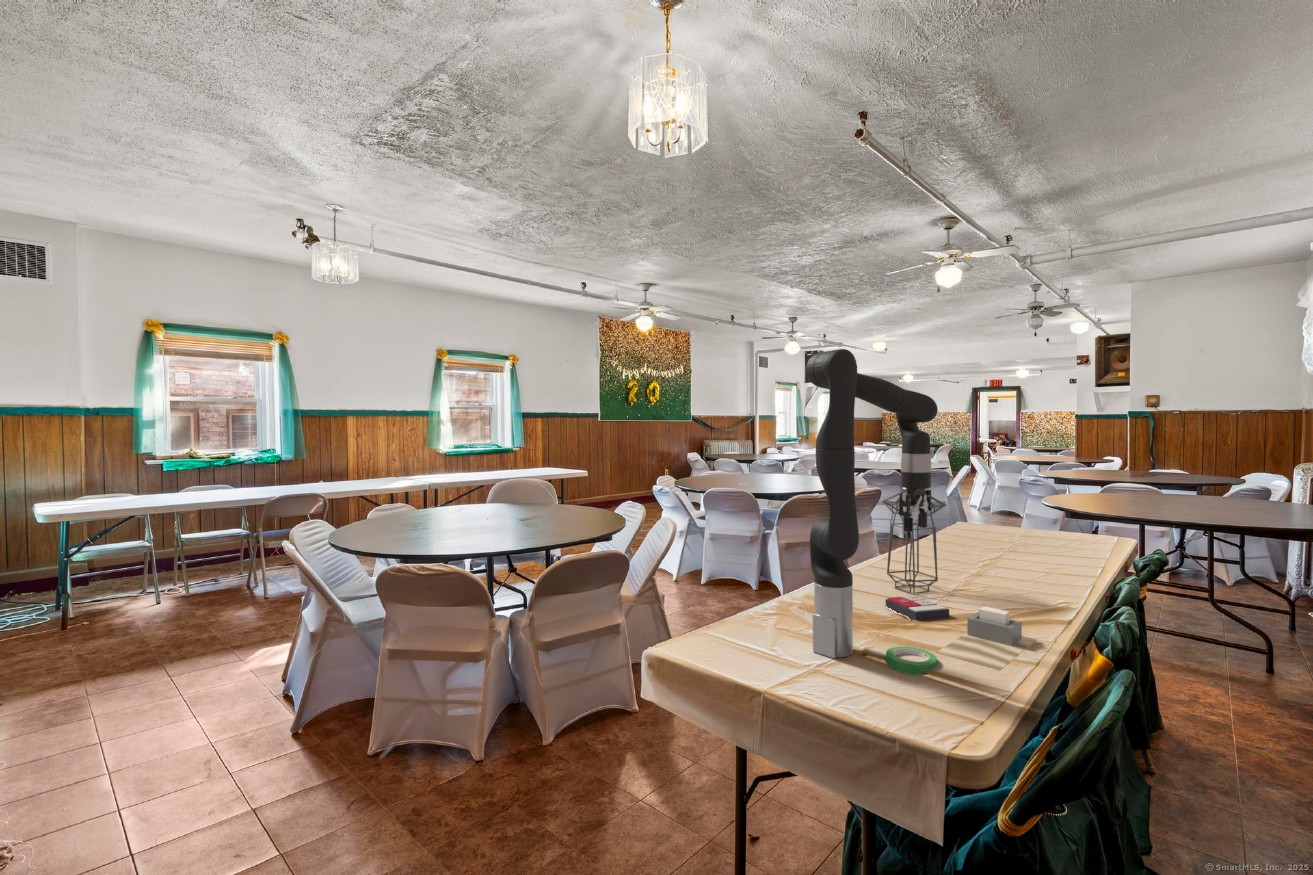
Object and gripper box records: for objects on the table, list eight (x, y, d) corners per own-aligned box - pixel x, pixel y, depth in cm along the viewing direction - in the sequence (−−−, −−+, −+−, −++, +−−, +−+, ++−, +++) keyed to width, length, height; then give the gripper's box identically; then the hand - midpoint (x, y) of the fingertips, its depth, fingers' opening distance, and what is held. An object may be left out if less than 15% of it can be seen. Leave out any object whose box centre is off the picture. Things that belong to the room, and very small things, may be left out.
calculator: (916, 594, 181) (949, 606, 166) (916, 608, 181) (950, 622, 166) (884, 596, 179) (915, 609, 164) (885, 610, 179) (916, 625, 164)
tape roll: (894, 652, 145) (894, 642, 145) (942, 664, 138) (942, 653, 138) (879, 667, 137) (879, 656, 136) (929, 680, 130) (929, 669, 129)
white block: (1005, 637, 148) (1005, 614, 148) (978, 631, 152) (978, 608, 152) (1009, 634, 150) (1009, 611, 150) (982, 628, 155) (982, 606, 154)
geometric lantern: (877, 585, 202) (878, 485, 201) (914, 582, 206) (915, 484, 206) (910, 598, 187) (911, 490, 186) (949, 594, 191) (950, 488, 191)
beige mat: (999, 674, 131) (999, 670, 131) (936, 656, 142) (936, 652, 142) (1036, 643, 149) (1036, 639, 149) (978, 628, 160) (978, 625, 160)
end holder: (1011, 646, 145) (1011, 628, 145) (967, 635, 153) (967, 618, 152) (1021, 638, 150) (1021, 621, 150) (978, 628, 157) (978, 611, 157)
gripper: (917, 472, 150) (917, 535, 150) (941, 469, 159) (941, 527, 160) (889, 471, 155) (889, 531, 156) (914, 467, 165) (913, 524, 165)
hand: (915, 529), depth 158 cm, fingers open, 8 cm apart
